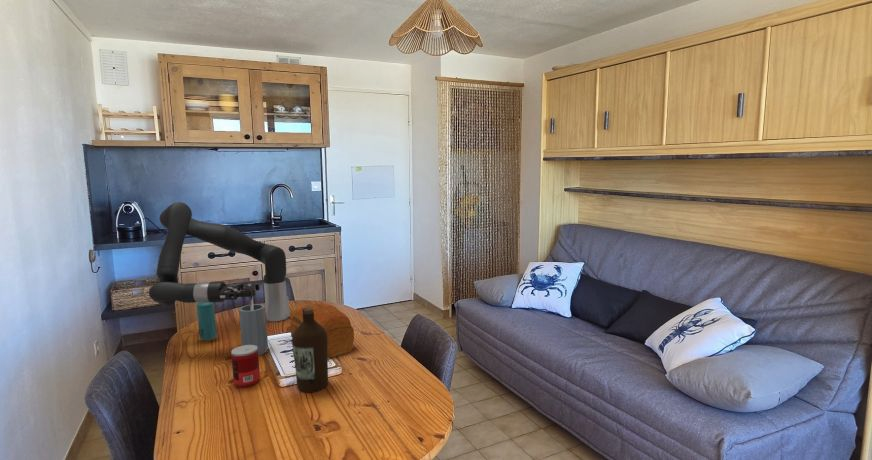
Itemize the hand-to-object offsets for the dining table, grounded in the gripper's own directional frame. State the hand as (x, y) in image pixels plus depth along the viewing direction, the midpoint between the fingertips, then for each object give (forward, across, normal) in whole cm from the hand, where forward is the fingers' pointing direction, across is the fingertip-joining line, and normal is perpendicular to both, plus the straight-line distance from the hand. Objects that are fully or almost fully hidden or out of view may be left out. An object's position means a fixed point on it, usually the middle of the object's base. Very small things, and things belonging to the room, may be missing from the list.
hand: (255, 290), depth 174 cm
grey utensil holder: (-2, 0, +24) cm, 24 cm away
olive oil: (+25, -30, +24) cm, 46 cm away
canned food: (+3, -25, +24) cm, 35 cm away
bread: (+22, +3, +24) cm, 33 cm away
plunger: (-2, 0, +22) cm, 22 cm away
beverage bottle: (-24, +14, +24) cm, 37 cm away
